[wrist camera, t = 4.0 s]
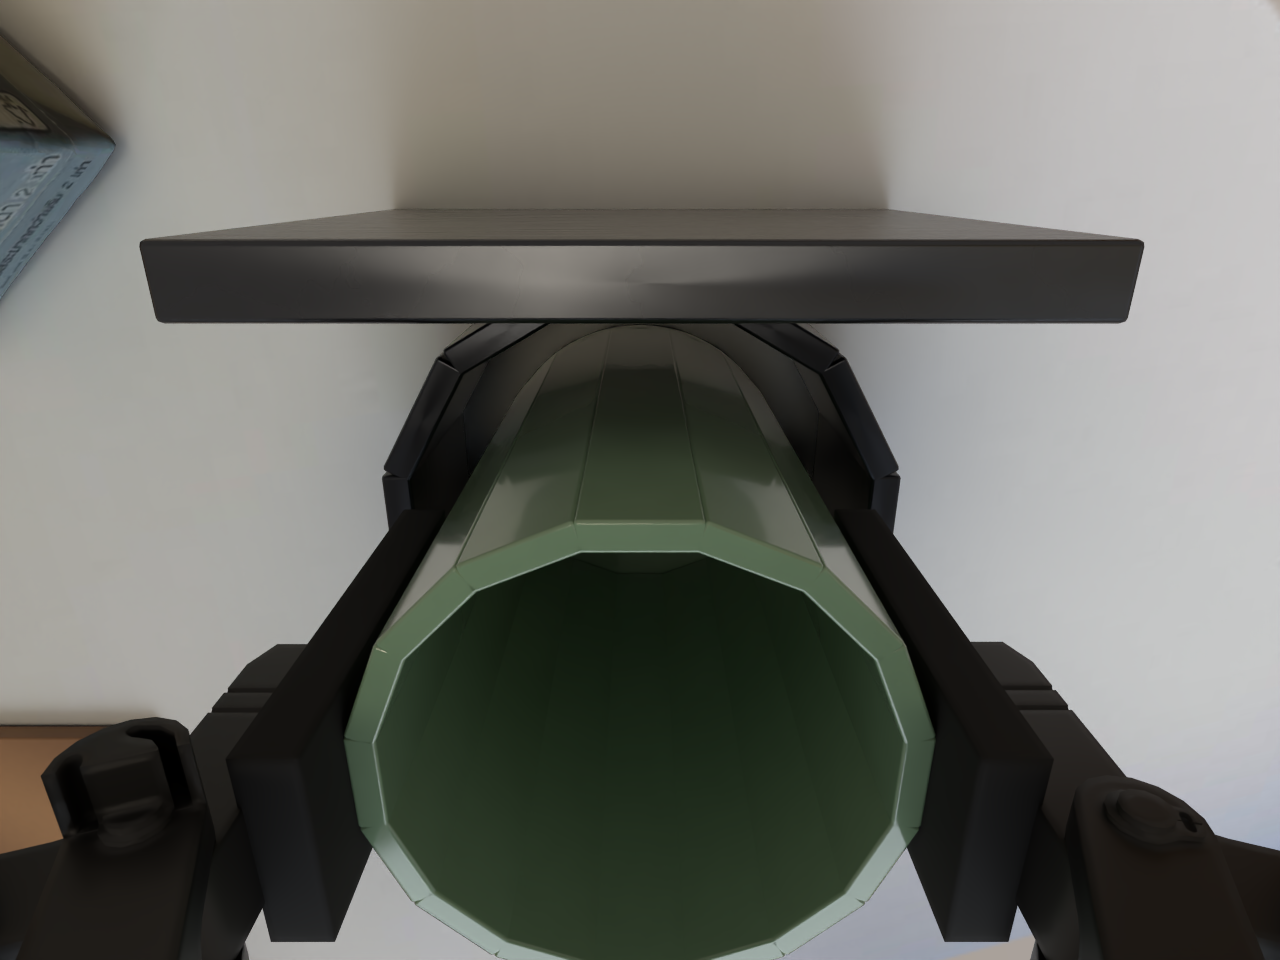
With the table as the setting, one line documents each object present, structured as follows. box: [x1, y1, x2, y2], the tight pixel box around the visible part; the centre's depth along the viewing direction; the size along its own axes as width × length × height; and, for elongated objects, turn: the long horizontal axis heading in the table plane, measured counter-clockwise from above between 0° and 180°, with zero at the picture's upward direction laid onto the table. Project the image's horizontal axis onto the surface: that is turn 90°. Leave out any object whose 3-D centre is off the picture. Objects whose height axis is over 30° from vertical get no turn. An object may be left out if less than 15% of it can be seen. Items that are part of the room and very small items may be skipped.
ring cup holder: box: [140, 209, 1144, 533], centre depth 16 cm, size 12×12×10 cm
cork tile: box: [0, 726, 109, 854], centre depth 26 cm, size 14×14×1 cm
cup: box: [344, 325, 936, 960], centre depth 15 cm, size 7×7×12 cm
